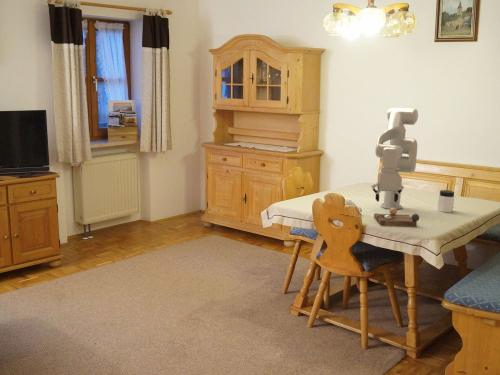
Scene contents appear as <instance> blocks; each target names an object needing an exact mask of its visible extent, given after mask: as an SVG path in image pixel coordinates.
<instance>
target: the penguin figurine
mask: <svg viewBox="0 0 500 375" xmlns="http://www.w3.org/2000/svg"><path fill="white" fill-rule="evenodd" d="M344 199H345V202H346V205H353V206H356V207H358V208H359V210H360V212H361V213H362V212H363V208H362V207H361V206H359V205H357V204H356V202H354V201H353V200H352V199H351V198H348V197H345V198H344Z"/></svg>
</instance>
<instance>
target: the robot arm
mask: <svg viewBox="0 0 500 375" xmlns="http://www.w3.org/2000/svg"><path fill="white" fill-rule="evenodd" d="M418 119H419V112H418V110H417V108H411V107H410V108H406V107H391V108H389V109H387V121H388V125H387V130H385V131H384V132H382V133H381V134H380V135H379V136H378V138H377V141H376V146H375V156H376V157H377V158H380V159H382V160H381V171H380V172H379V175H378V179H377V182H376V183H374V184H372V185H370V186H371V190H372V191H373V192H374V193H375V201H376V202H380V193H381V192H384V194H383V195H384V196H383V199H384V200H383V203H381V205H380V207H381V208H382V209H383V208H384V209H388V210H390V209H391V208H395V209H396V210H401V209H403V205H401V197H402V196H401V195H402V192H403V190H404V189H405V187H404V186H403V184H402V183H403V179H402V176H401V174H400V173H407V174H412V173H414V172H415V171H416V169H417V168H416V167H417V166H416V165H417V157H418V156H417V155H418V141H417V139H415V138H411V137H410V138H409V137H406V131H407V130H406V127H405V125H409V126H410V125H411V126H413V125H415V124H416V123H417V122H418ZM385 142H389V144H386V143H385ZM405 155H408V156H405ZM376 188H377V189H376Z"/></svg>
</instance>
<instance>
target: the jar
mask: <svg viewBox="0 0 500 375" xmlns="http://www.w3.org/2000/svg"><path fill="white" fill-rule="evenodd" d="M437 200H438V201H437V211H438V212H441V213H449V212H451V213H452V212H454V203H455V191H453V190H449V189H448V190H447V189H442V190H439V195H438V199H437Z"/></svg>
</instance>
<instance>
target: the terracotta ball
mask: <svg viewBox="0 0 500 375" xmlns="http://www.w3.org/2000/svg"><path fill="white" fill-rule="evenodd" d="M389 214H391V215H395V214H398V209H395V208H391V209H389Z"/></svg>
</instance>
